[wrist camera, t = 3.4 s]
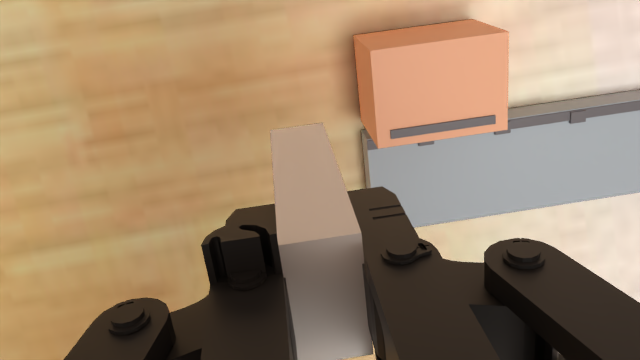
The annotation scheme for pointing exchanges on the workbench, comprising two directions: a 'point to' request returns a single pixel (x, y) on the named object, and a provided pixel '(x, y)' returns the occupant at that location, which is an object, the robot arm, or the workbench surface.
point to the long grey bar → (516, 162)
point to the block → (432, 82)
